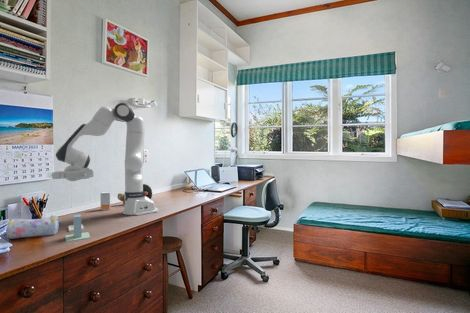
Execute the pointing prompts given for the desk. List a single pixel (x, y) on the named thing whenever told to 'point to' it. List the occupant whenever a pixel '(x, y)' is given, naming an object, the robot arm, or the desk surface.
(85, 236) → the green mat
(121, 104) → the robot arm
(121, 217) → the desk surface
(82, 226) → the slot box
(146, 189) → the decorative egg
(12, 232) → the pencil case
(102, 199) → the skincare box
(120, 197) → the lion figurine
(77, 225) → the blue cover plate
